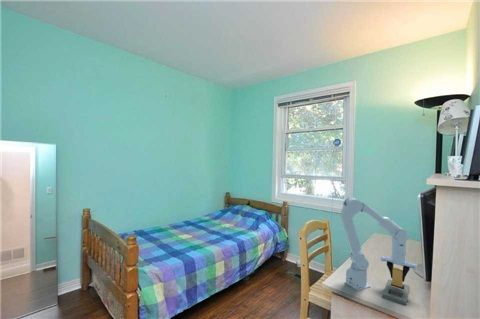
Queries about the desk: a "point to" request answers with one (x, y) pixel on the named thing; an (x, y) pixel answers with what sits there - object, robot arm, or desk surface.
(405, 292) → the power strip
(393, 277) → the plug
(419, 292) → the desk surface
